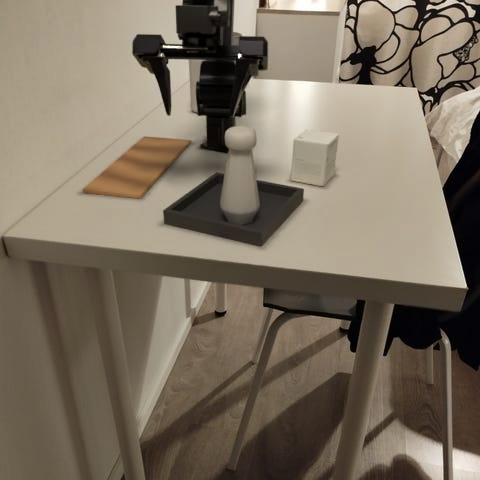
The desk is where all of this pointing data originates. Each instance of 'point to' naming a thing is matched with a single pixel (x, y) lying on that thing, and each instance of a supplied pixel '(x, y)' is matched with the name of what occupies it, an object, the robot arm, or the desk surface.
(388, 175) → the desk surface
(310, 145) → the product box
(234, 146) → the salt shaker
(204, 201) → the tray
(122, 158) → the wooden board
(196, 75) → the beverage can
